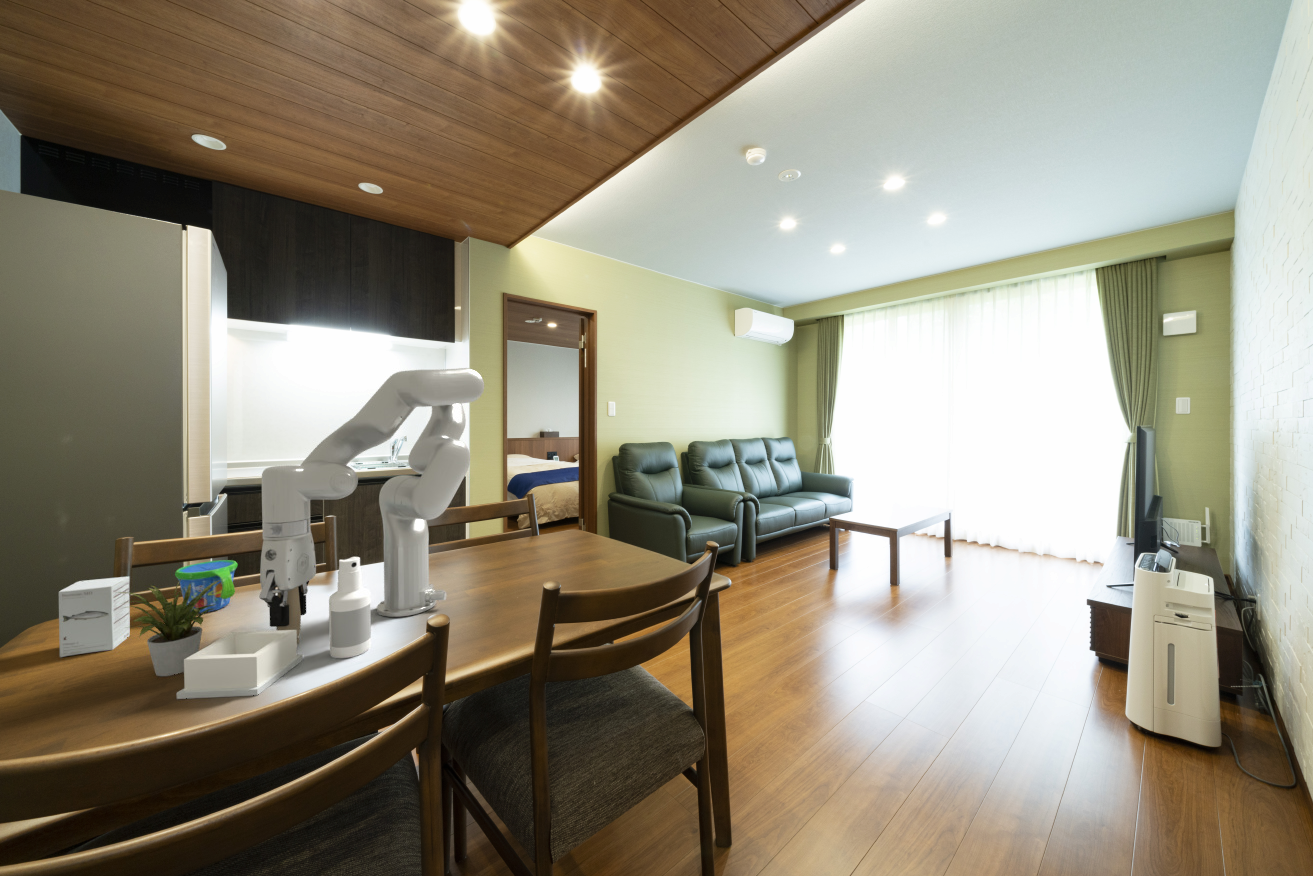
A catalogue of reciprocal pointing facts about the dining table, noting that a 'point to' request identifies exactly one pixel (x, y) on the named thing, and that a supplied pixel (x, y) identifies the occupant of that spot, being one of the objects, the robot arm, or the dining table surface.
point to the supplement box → (93, 615)
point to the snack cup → (208, 583)
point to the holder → (240, 664)
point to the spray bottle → (349, 612)
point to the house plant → (172, 630)
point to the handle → (293, 612)
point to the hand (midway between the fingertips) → (288, 619)
